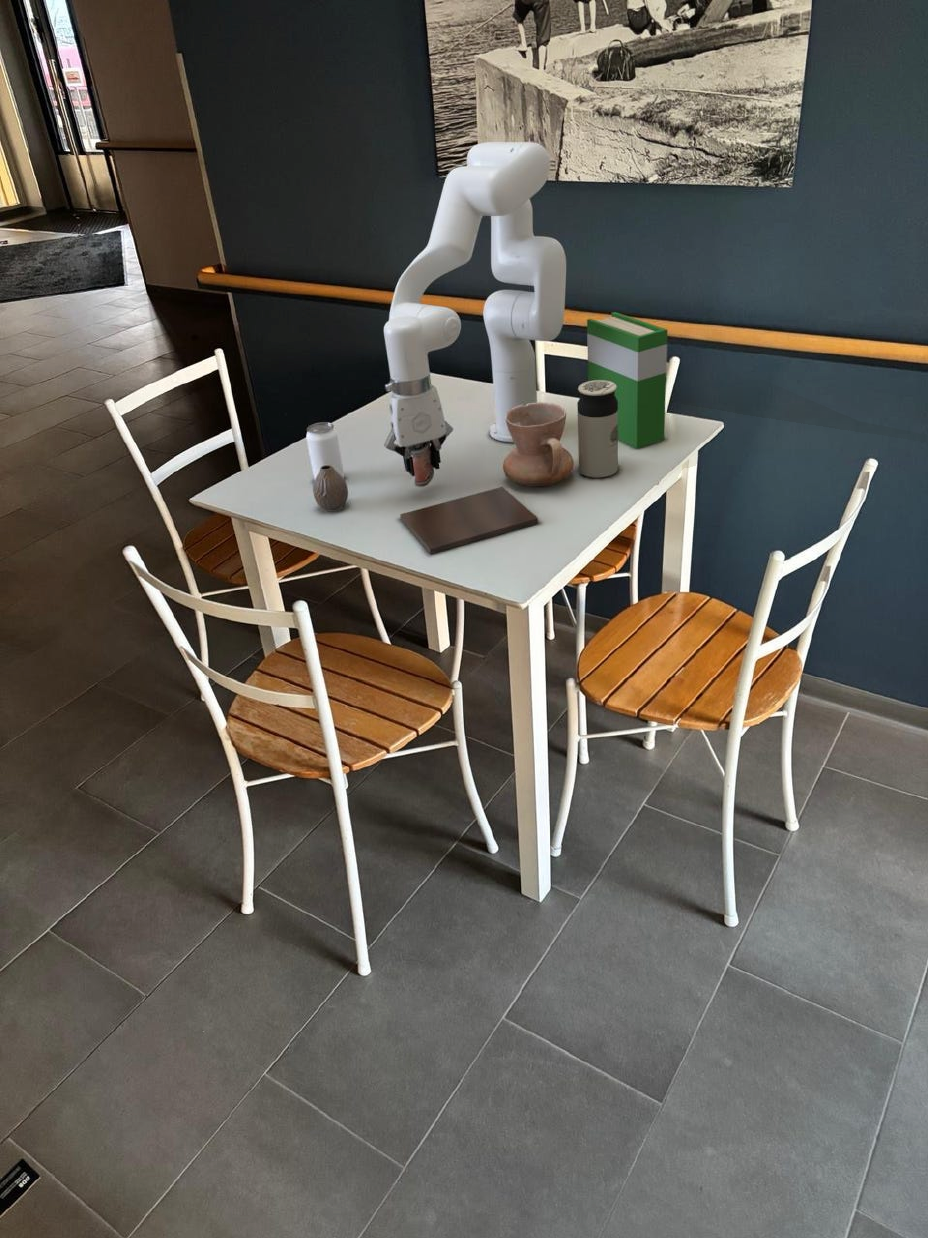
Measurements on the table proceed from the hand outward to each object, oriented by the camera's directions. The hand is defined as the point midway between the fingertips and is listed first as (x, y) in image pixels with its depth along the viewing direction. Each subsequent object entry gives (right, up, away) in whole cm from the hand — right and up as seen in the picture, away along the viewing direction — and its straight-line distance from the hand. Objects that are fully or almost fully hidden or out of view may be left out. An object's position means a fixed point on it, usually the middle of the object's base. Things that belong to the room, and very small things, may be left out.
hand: (423, 469), depth 190 cm
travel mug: (+36, 0, +4) cm, 36 cm away
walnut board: (+9, -12, -9) cm, 17 cm away
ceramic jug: (+24, -2, +3) cm, 24 cm away
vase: (-18, -8, +1) cm, 20 cm away
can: (-21, 0, +12) cm, 24 cm away
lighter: (0, -2, +1) cm, 2 cm away
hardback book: (+44, +11, +20) cm, 50 cm away
